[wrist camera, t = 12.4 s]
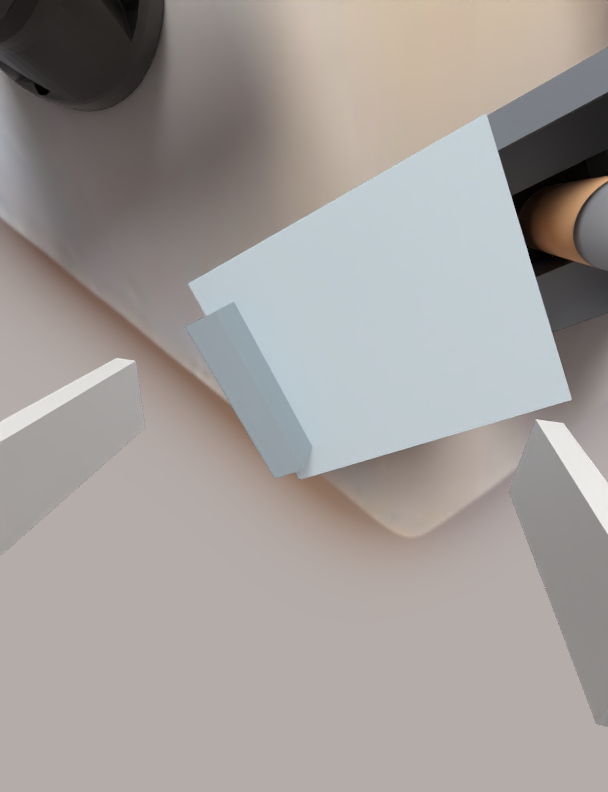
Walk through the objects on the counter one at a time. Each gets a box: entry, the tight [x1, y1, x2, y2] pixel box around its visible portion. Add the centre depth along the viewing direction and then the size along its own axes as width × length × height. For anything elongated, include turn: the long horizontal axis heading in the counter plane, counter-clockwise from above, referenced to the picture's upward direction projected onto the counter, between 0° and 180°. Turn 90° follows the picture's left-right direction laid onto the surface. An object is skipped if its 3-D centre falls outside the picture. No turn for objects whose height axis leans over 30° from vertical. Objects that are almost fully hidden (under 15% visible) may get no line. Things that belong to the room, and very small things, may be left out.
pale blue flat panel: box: [185, 113, 572, 480], centre depth 21 cm, size 14×16×4 cm
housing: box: [487, 47, 608, 332], centre depth 24 cm, size 14×18×14 cm
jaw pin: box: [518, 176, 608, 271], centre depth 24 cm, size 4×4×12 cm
